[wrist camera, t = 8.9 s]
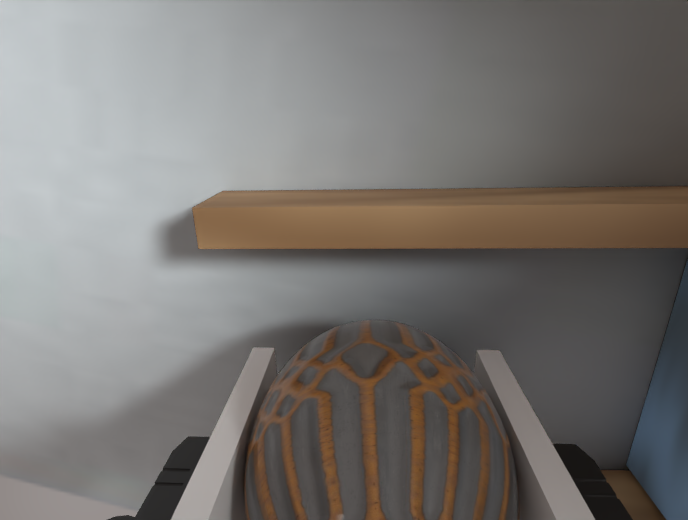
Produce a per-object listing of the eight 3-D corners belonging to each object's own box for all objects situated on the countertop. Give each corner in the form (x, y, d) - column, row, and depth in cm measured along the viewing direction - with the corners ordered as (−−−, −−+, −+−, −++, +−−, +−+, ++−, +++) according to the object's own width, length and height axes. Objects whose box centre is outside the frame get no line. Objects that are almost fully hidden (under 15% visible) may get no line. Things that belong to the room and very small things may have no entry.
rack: (158, -319, 9) (42, -558, 6) (967, -388, 8) (1366, -720, 5) (259, 480, 18) (235, 563, 14) (659, 493, 17) (730, 585, 14)
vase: (404, 475, 16) (454, 872, 8) (246, 404, 15) (104, 768, 7) (511, 345, 14) (747, 706, 5) (332, 252, 13) (281, 512, 4)
